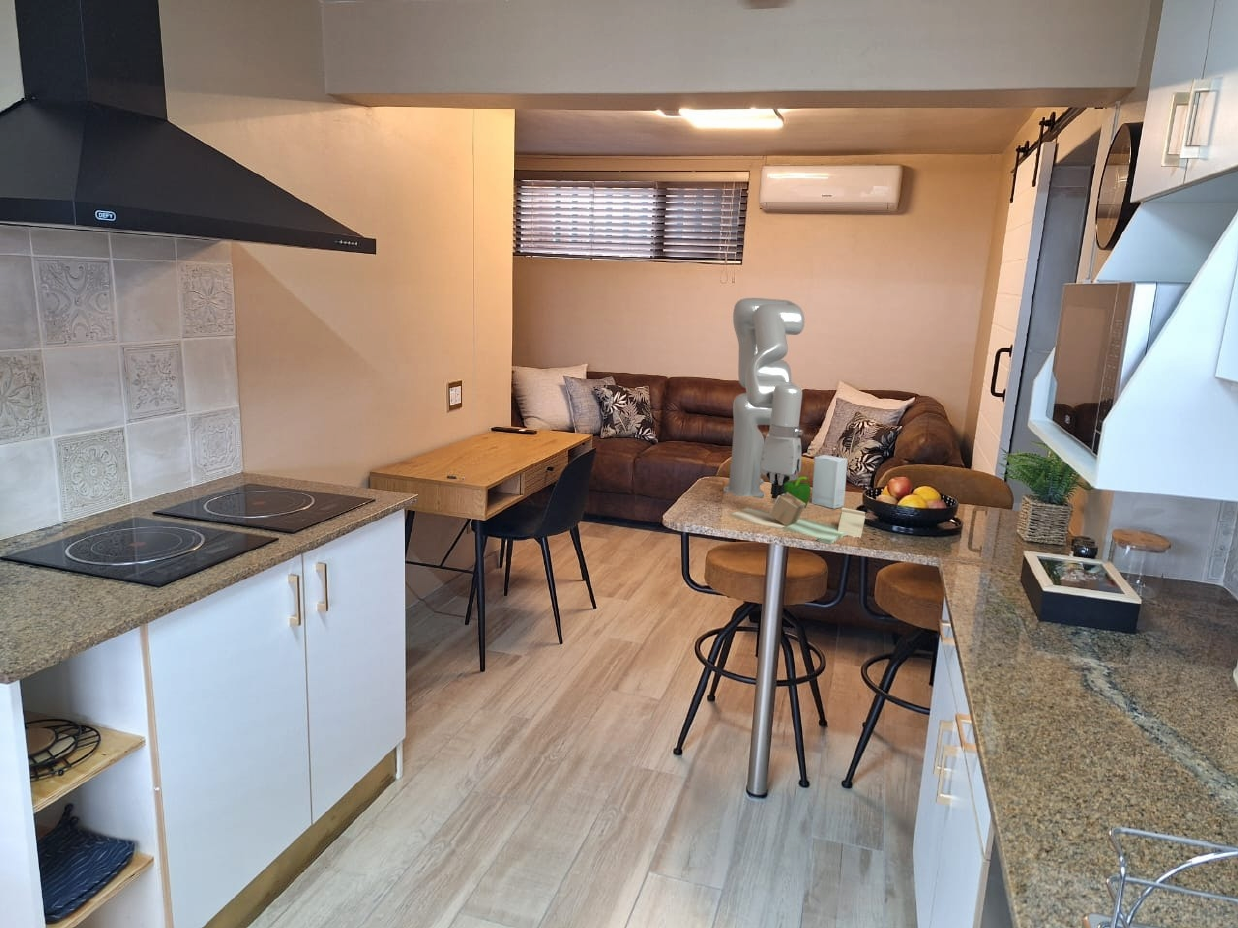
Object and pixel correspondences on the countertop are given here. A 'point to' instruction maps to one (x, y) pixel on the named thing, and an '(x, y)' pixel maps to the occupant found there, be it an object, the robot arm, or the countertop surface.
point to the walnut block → (787, 509)
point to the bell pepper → (798, 490)
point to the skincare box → (829, 481)
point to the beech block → (851, 522)
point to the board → (801, 526)
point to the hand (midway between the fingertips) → (776, 497)
